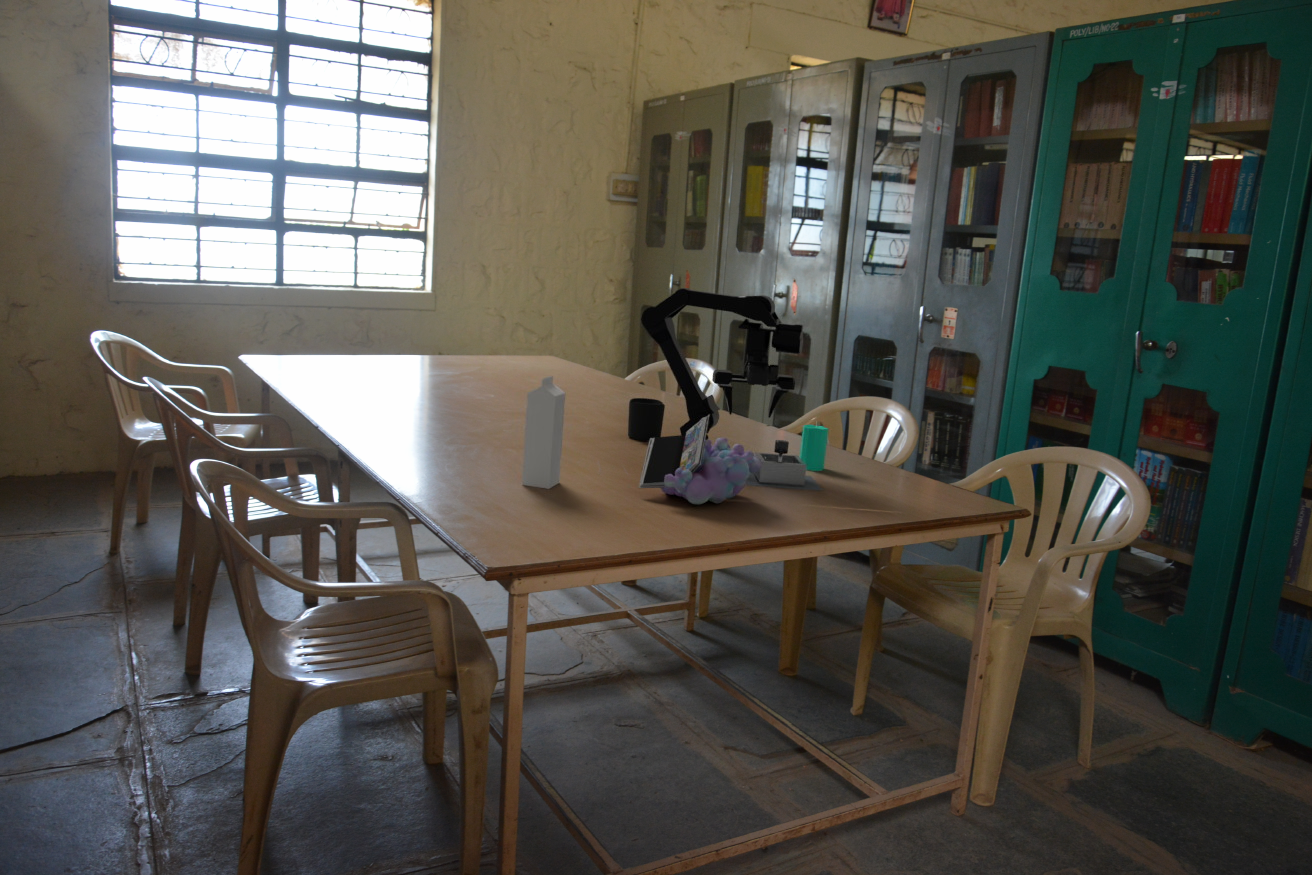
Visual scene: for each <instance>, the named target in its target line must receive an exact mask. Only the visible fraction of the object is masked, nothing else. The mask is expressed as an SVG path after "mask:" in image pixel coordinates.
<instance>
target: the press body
mask: <svg viewBox="0 0 1312 875" xmlns="http://www.w3.org/2000/svg"><path fill="white" fill-rule="evenodd" d="M778 456H779V453H769V452H768V453H767V452H757V451H756V452H754V457H756V458H758V459H759V460H760V461H761V463H762V467H761V468H760V470H758V471H757V472H755V473H753V475H754V476H755V478H756V480H757V481H758V483H759V484H767V485H781V486H795V487H804V483H805V475H806V473H807V470H806V466H807V465H806V464H805V463H804V462H803V461H802V460H801V458H800V455H797V454H796V455H795V454H783V456H782V462H778Z"/></svg>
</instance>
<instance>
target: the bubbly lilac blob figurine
mask: <svg viewBox="0 0 1312 875" xmlns="http://www.w3.org/2000/svg"><path fill="white" fill-rule="evenodd" d="M709 417H710V414H709V415H708V416H707V417H704V418H702V419H701V420H700V421H699V422H698V423H697V424H696V425H694V426H693V427H692V428H691V429H689V430H688V431H687V433H686V436H683V435H681V434H680V435H670V436H668V435H667V436H661V437H655V438H650V441H648V446H647V450H646V453H645V459H644V463H643V468H642V472H641V475H640V480H639V484H638V489H659V488H660V491H662V492H663V493H664V494H667V495H669V496H672V495H676V496H677V497H683V498H684V499H685V500H687V501H688V502H689V503H691V504H692V505H702V504H705V503H706V502H708V501H709V502H712V503H714V504H720V503H722V502H723V501H725V499H731V498H734V497H735V496H737V495H739V493H741V492H742V490H743V489H744V487H746V485H745V483H746V482H745V480H746V479H747V478H748V477H749V475H750V473H755V472H757V471H758V470H760V468H761V467H762V463H761V461H760V460H759V459H758V458H756V457H754V456H755V452H752V451H751V450H746V451H745V448H744V446H743V445H742V444H741V443H735V444H733V446H732V448H731V446H730V444H729V443H728V439H729V438H727V437H718V438H716V440H715V442H714V444H712V440H710V439H709V438H708V439H707V440H706V435H708V434H707V428H708V423H709Z"/></svg>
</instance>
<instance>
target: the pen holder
mask: <svg viewBox="0 0 1312 875" xmlns="http://www.w3.org/2000/svg"><path fill="white" fill-rule="evenodd" d="M628 402H629V403H628V419H627V420H628V421H627V422H628V424H627V425H628V426H627V436H628V438H630V439H632V440H634V441H639V442H649V441H650V438H655V437H662V429H663V422H664V417H665V416H664V415H665V410H666V409H665V407H666V405H665V404H664V402H662V401H661V400H659V399H655V398H647V397H646V398H644V397H634V398H631V399H630V400H629V401H628Z"/></svg>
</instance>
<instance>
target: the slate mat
mask: <svg viewBox="0 0 1312 875" xmlns="http://www.w3.org/2000/svg"><path fill="white" fill-rule="evenodd" d="M745 482H746V483H745V486H748V487H749V486H750V487H751V486H752V487H765V488H778V489H779V488H780V489H790V490H791V489H792V490H807V491H819V492H820V491H822V492H824V491H825V490H824V489H823V488H822V487H821V486H820V485H819V484H818V482H817V481H816V480H815V479H814V477H812V476H811V475H806V474H805V483H804V487H795V486H781V485H767V484H759V483H758V481H757V480H756V478H755V476H754V475H753V473H750V475H749V477H748V478H747V479H746V480H745Z"/></svg>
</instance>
